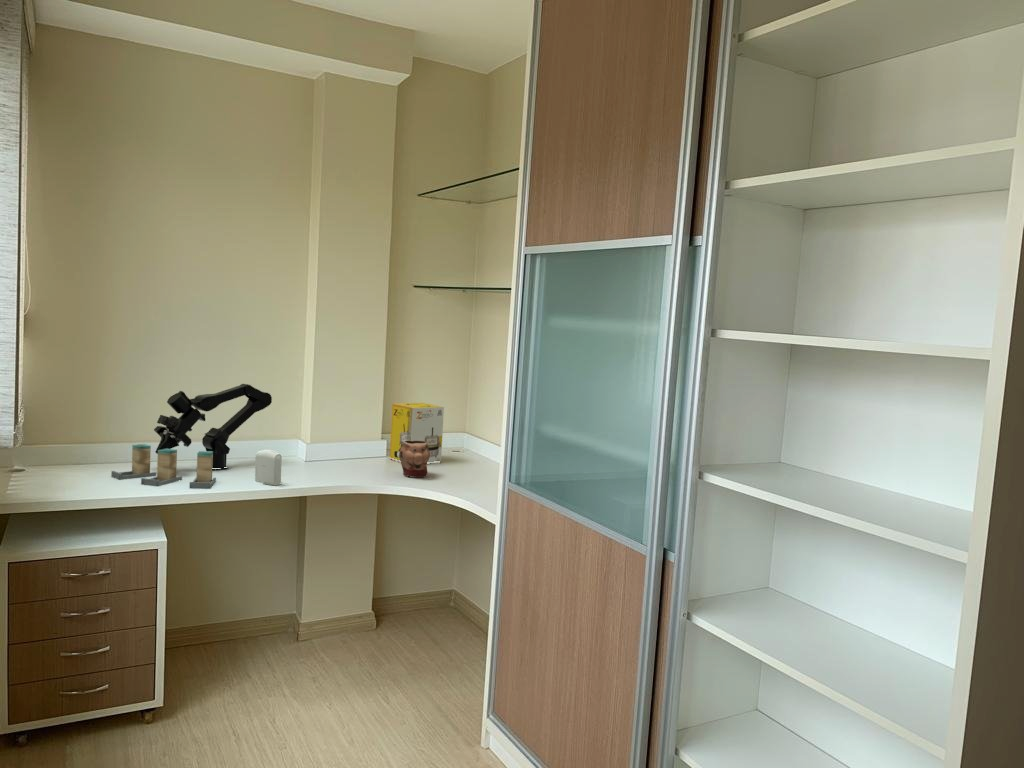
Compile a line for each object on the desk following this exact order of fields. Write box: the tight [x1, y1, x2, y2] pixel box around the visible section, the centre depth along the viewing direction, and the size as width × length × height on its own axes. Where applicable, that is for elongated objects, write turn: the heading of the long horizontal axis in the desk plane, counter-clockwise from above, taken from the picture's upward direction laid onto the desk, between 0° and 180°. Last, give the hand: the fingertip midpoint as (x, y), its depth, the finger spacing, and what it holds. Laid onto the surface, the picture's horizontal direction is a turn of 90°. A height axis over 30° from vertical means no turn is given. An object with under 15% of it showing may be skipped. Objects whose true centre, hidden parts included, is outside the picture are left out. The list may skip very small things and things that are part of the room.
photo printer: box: [254, 449, 283, 486], centre depth 298 cm, size 10×4×12 cm, turn 63°
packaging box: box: [389, 402, 445, 462], centre depth 360 cm, size 16×16×25 cm
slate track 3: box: [189, 476, 217, 490], centre depth 288 cm, size 13×7×2 cm, turn 12°
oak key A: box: [131, 443, 152, 475], centre depth 297 cm, size 4×4×11 cm
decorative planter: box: [399, 441, 430, 478], centre depth 330 cm, size 20×12×14 cm, turn 24°
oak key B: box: [156, 448, 178, 481], centre depth 291 cm, size 4×4×11 cm
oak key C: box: [196, 450, 213, 482], centre depth 290 cm, size 4×4×11 cm
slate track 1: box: [111, 470, 157, 481], centre depth 295 cm, size 13×7×2 cm, turn 140°
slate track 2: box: [140, 475, 183, 487], centre depth 288 cm, size 13×7×2 cm, turn 166°
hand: (156, 453), depth 301 cm, fingers closed
